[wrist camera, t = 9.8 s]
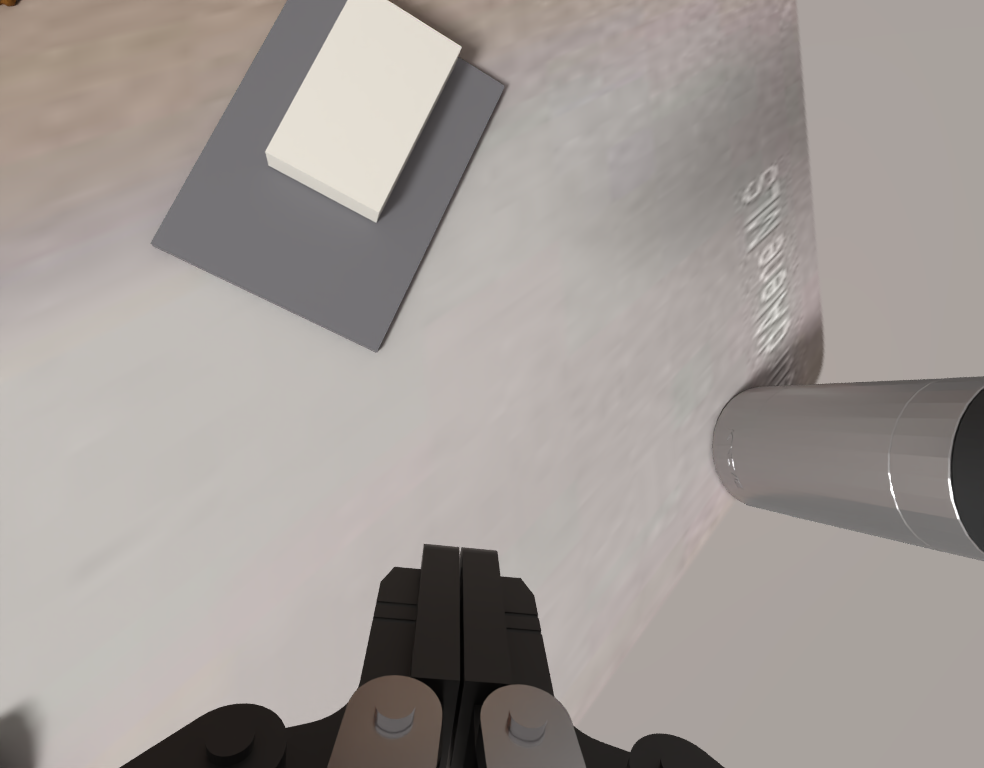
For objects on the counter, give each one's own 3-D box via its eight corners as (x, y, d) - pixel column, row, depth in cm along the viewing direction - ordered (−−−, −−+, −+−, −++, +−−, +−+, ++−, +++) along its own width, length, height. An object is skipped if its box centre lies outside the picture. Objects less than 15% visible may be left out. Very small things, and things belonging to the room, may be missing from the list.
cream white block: (268, 166, 35) (356, 5, 37) (376, 223, 37) (454, 66, 38) (265, 151, 33) (357, -19, 35) (379, 212, 35) (461, 46, 36)
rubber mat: (308, -30, 37) (308, -37, 36) (502, 90, 40) (505, 85, 39) (153, 246, 34) (150, 243, 33) (376, 352, 37) (377, 351, 36)
